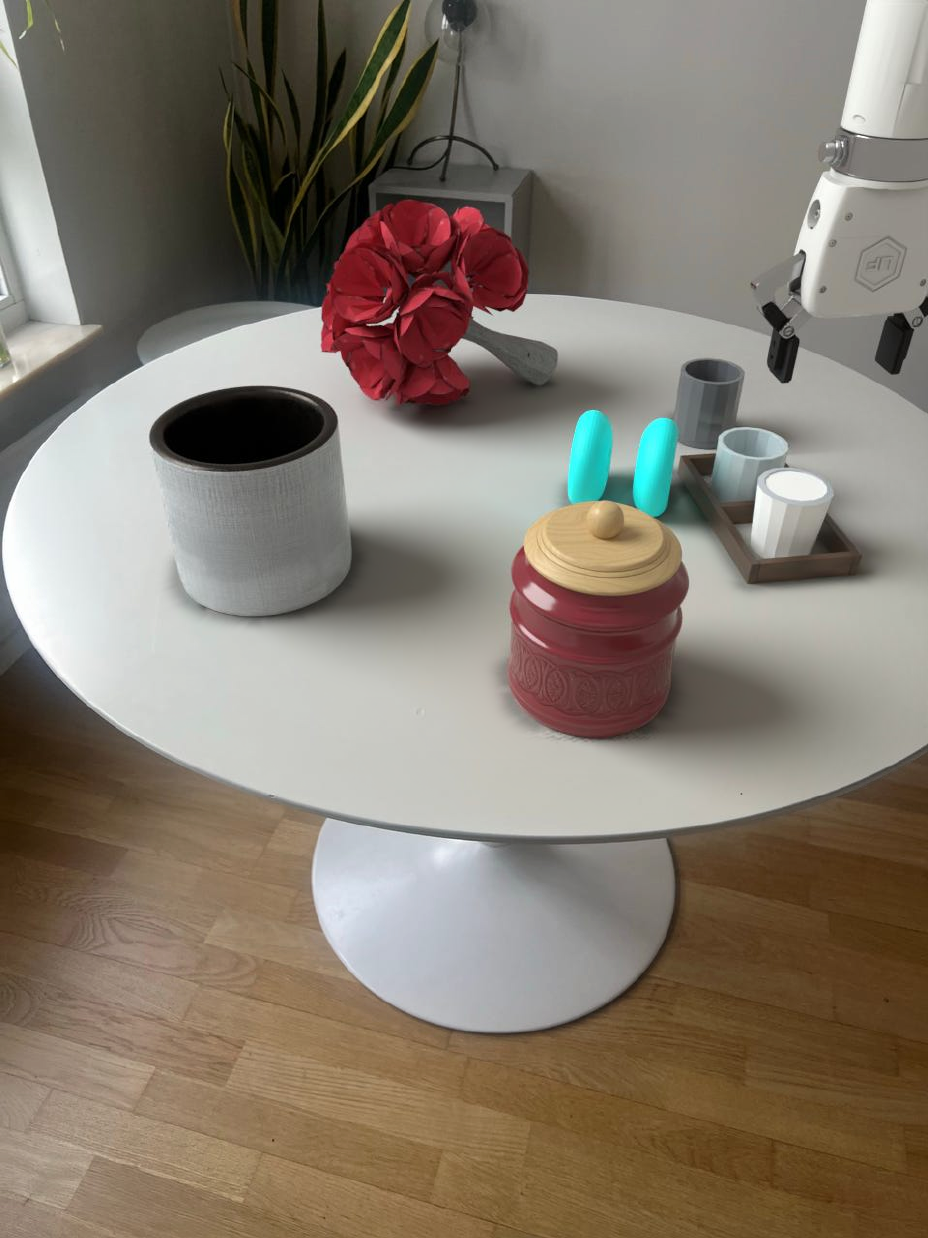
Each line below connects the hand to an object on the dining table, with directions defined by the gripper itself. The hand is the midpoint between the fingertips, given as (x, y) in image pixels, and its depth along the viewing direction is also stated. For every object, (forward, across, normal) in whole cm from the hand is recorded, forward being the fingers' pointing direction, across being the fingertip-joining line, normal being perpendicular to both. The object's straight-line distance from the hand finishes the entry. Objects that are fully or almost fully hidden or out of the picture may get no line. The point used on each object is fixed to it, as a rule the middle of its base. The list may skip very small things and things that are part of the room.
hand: (832, 372), depth 80 cm
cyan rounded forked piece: (+18, -15, +10) cm, 25 cm away
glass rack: (+18, -2, +4) cm, 19 cm away
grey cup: (+18, -1, +24) cm, 30 cm away
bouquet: (+18, -30, +39) cm, 52 cm away
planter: (+18, -51, +3) cm, 54 cm away
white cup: (+18, -2, -1) cm, 18 cm away
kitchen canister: (+18, -25, -17) cm, 35 cm away
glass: (+18, -2, +9) cm, 20 cm away
